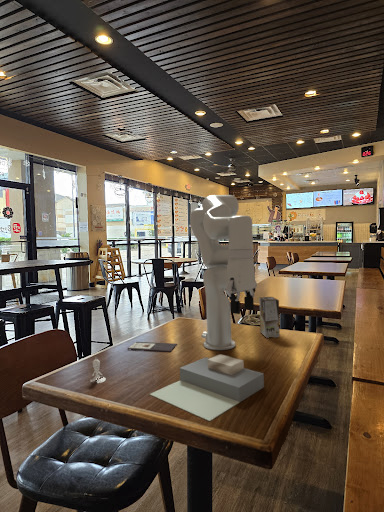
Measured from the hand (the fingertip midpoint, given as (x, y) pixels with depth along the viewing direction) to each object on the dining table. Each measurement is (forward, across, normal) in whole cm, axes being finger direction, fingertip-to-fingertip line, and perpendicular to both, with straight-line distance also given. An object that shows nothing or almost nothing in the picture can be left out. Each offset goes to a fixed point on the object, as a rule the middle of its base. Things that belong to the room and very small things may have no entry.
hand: (242, 310), depth 110 cm
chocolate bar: (+20, +2, -43) cm, 48 cm away
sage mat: (+20, +24, 0) cm, 31 cm away
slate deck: (+20, +12, 0) cm, 23 cm away
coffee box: (+20, -41, -15) cm, 48 cm away
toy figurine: (+20, +35, -31) cm, 51 cm away
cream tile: (+16, +10, 0) cm, 18 cm away
